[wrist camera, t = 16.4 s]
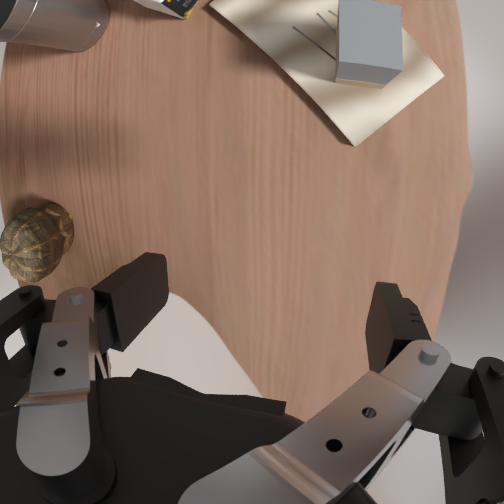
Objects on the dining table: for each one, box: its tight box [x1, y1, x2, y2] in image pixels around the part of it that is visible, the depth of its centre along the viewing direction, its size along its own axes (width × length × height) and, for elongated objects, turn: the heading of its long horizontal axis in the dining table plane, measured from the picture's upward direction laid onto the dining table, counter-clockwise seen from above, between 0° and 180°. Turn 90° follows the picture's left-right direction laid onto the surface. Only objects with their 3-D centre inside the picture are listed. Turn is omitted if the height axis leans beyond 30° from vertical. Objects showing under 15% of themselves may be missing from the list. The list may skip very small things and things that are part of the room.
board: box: [209, 0, 444, 147], centre depth 28 cm, size 24×14×2 cm, turn 43°
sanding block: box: [335, 0, 403, 89], centre depth 23 cm, size 5×6×10 cm
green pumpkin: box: [0, 204, 74, 283], centre depth 41 cm, size 11×11×12 cm
